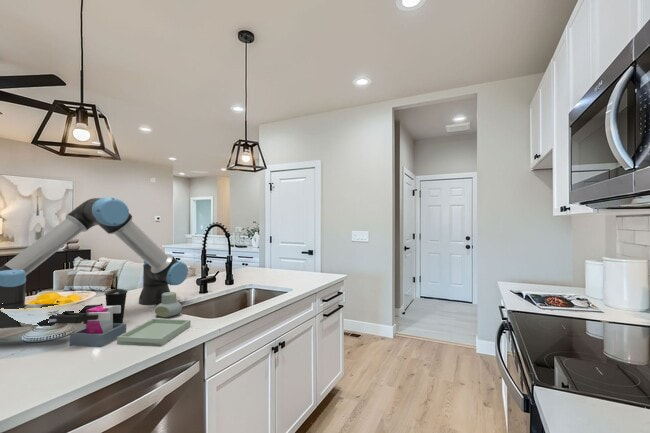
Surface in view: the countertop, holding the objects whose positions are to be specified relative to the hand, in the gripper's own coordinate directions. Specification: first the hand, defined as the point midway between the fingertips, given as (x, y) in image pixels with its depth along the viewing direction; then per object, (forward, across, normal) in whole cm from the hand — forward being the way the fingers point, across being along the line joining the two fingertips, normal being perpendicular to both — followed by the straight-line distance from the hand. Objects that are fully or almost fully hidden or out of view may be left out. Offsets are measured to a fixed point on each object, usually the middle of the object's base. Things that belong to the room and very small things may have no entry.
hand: (115, 312), depth 111 cm
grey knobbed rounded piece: (+11, -26, -10) cm, 30 cm away
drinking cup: (-6, -15, -10) cm, 19 cm away
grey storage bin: (-5, 0, -10) cm, 11 cm away
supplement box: (-5, 0, -10) cm, 11 cm away
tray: (+13, -2, -10) cm, 17 cm away
